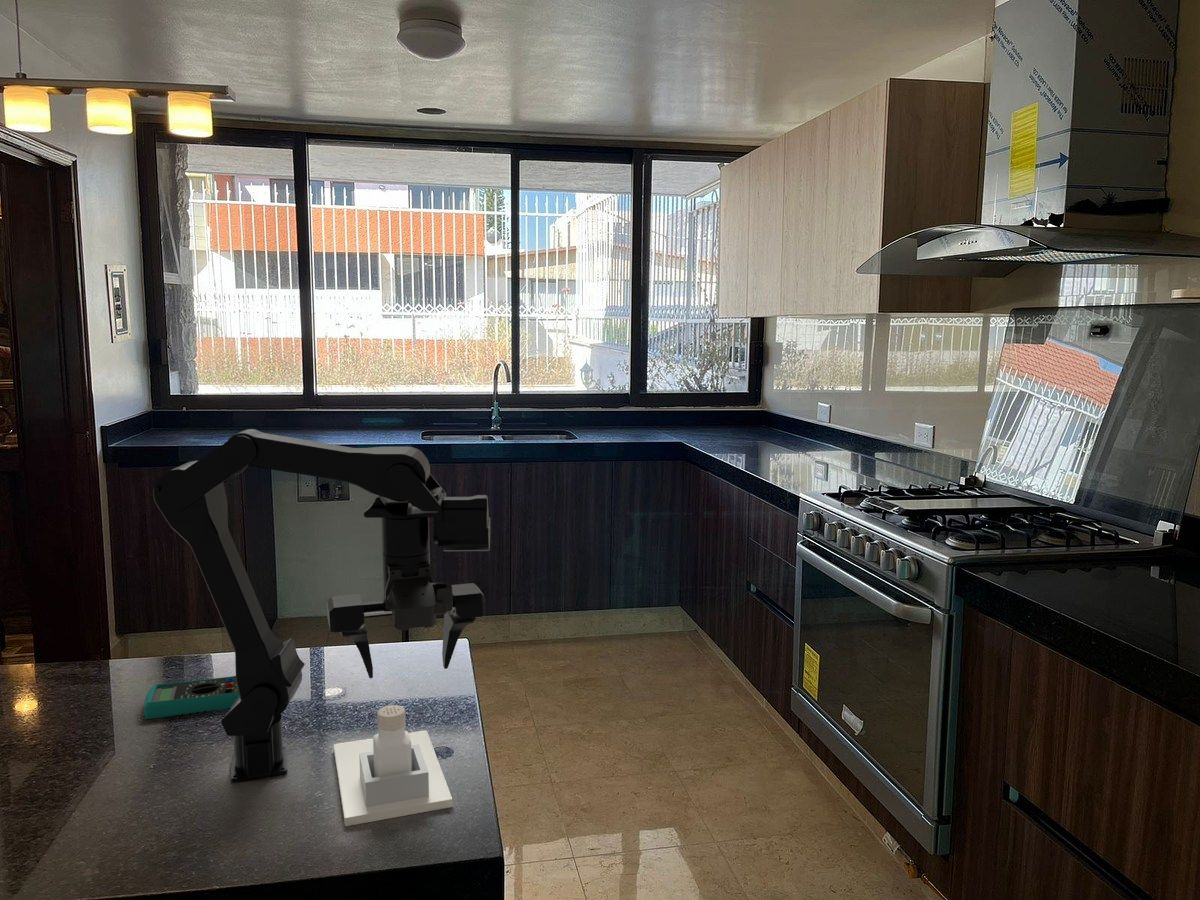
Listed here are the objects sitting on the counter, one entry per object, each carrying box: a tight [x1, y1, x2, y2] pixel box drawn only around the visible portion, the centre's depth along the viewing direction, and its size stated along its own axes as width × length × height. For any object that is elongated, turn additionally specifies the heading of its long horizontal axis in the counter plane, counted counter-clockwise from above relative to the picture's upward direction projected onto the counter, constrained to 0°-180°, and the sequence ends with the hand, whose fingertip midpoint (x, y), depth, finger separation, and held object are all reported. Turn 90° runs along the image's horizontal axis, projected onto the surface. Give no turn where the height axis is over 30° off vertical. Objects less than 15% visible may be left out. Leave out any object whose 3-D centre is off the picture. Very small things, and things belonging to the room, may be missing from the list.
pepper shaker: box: [372, 704, 412, 778], centre depth 105 cm, size 4×4×10 cm
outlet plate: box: [333, 729, 454, 827], centre depth 109 cm, size 18×12×4 cm, turn 20°
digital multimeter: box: [143, 675, 239, 720], centre depth 129 cm, size 7×15×3 cm, turn 109°
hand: (408, 672), depth 111 cm, fingers open, 9 cm apart
